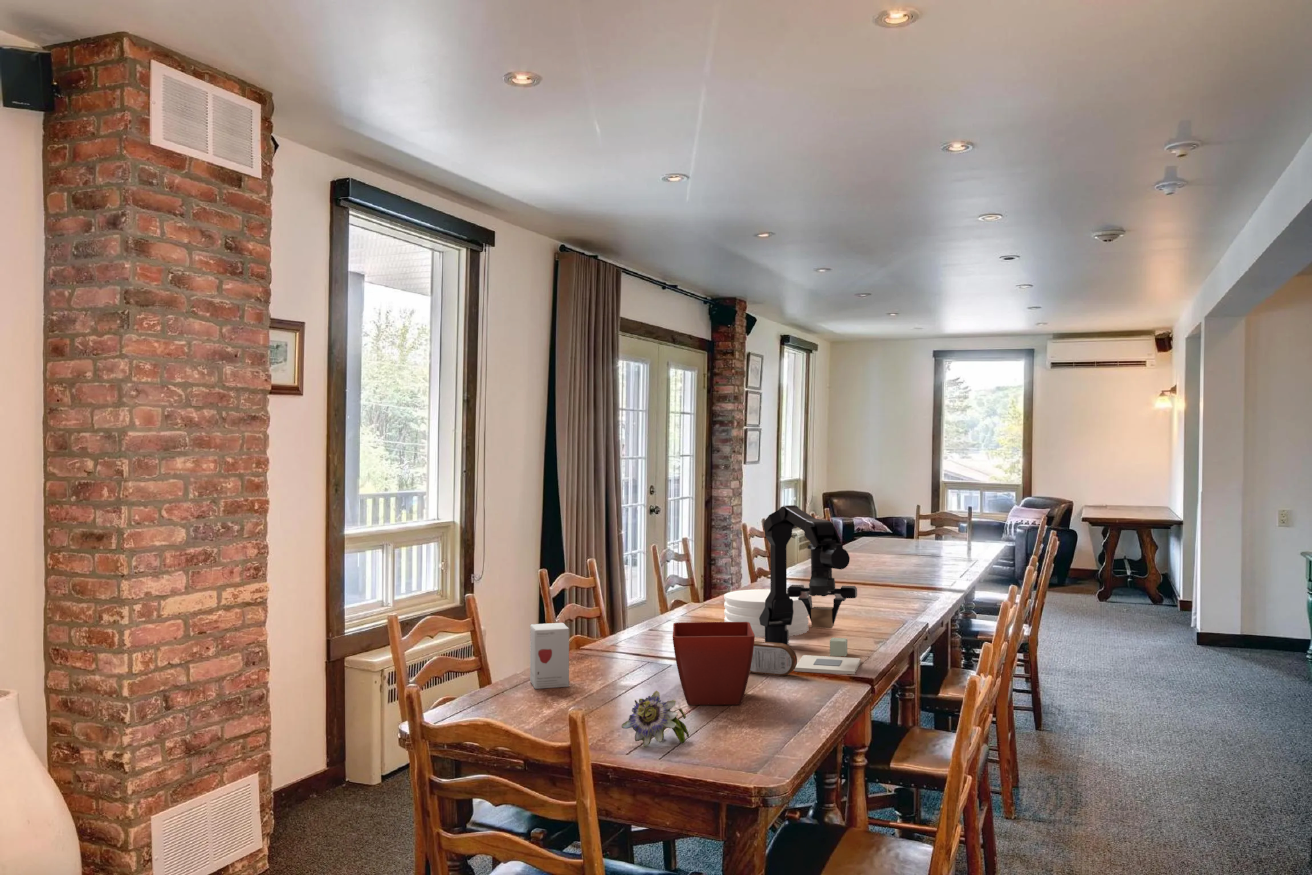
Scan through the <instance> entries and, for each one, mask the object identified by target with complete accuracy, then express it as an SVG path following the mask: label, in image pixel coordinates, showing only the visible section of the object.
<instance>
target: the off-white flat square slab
mask: <svg viewBox="0 0 1312 875" xmlns="http://www.w3.org/2000/svg"><path fill="white" fill-rule="evenodd" d="M860 664H861V658H858V657H847V656H846V657H841V656H830V655H829V656H825V655H824V656H823V655H810V654H807V655H806V654H803V655H802V656H801V658H800V659H799V660H798V661H797V665H796V667H795V669H794V670H793V671H794V672H802V673H818V674H830V675H831V674H834V675H847V674H854V675H853V676H856V673H857V671H856V670H858V669H859V667H860ZM855 672H856V673H855Z"/></svg>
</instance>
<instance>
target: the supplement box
mask: <svg viewBox="0 0 1312 875" xmlns="http://www.w3.org/2000/svg"><path fill="white" fill-rule="evenodd" d="M529 629H530V631H529V634H530V635H529V636H530V637H529V638H530V641H529V642H530V644H529V649H530V650H529V652H530V653H529V654H530V655H529V681H530V683H531V685H532V686H533V688H534V689H535V690H539V689H555V688H569V687H570V628H569V627H568V626H567V625H566V624H565V623H564V622H553V623H552V622H551V623H533V624H532V623H531V624H530V625H529Z"/></svg>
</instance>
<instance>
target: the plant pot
mask: <svg viewBox="0 0 1312 875" xmlns="http://www.w3.org/2000/svg"><path fill="white" fill-rule="evenodd" d="M672 626H673V627H672V643H673V644H672V645H673V651H674V657H675V661H676V662H675V663H676V667H677V672H678V677H679V681H680V684H681V688H682V691H683V695H684V698H685V701H686V704H687V705H691V706H693V705H697V706H699V705H701V706H702V705H703V706H704V705H709V706H710V705H712V706H713V705H715V706H716V705H741V704H742V702H743V700H744V697H745V694H746V691H747V690H746V689H747V685H748V681H749V678H750V673H751V672H750V668H751V662H752V656H753V649H754V641H755V638H756V637H755V635H754V633H753V630H752V628H751V625H750V623H749V622H724V621H697V622H696V621H695V622H694V621H693V622H692V621H691V622H688V621H687V622H684V621H683V622H673V625H672Z"/></svg>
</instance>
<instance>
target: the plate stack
mask: <svg viewBox="0 0 1312 875" xmlns="http://www.w3.org/2000/svg"><path fill="white" fill-rule="evenodd" d="M770 590H771V588H768V589H767V588H764V589H763V588H759V589H758V588H756V589H754V588H753V589H741V590H734V591H730V592H729V591H728V592H726V593H724V595H723V599H724V602H723V604H724V605H723V607H724V608H725V609H723V610H724V611H723V612H724V613H723V614H724V616H725V617H724V619H723V620H724V621H723V622H749V623H750V625H751V628H752V630H753V633H754V635H755V638H765V626H762V625H760V620H759V617H760V616H761V614H762V612H763V610H764V608H765V600H766V599H767V597H768V595H769V593H770ZM798 598H799V597H790V599H792V600H793V611H794V612H793V618H792V624H791V625H787V629H788V630H789V637H794V636H793V635H795V636H799V634H800V635H803V633H804V634H805V633H808V632H809V628H810V627H809V617H808V616H809V614H808V611H807V609H806V607H805V605H804V603H803V602H802V600H798ZM769 622H770V621H769ZM807 631H808V632H807Z"/></svg>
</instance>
